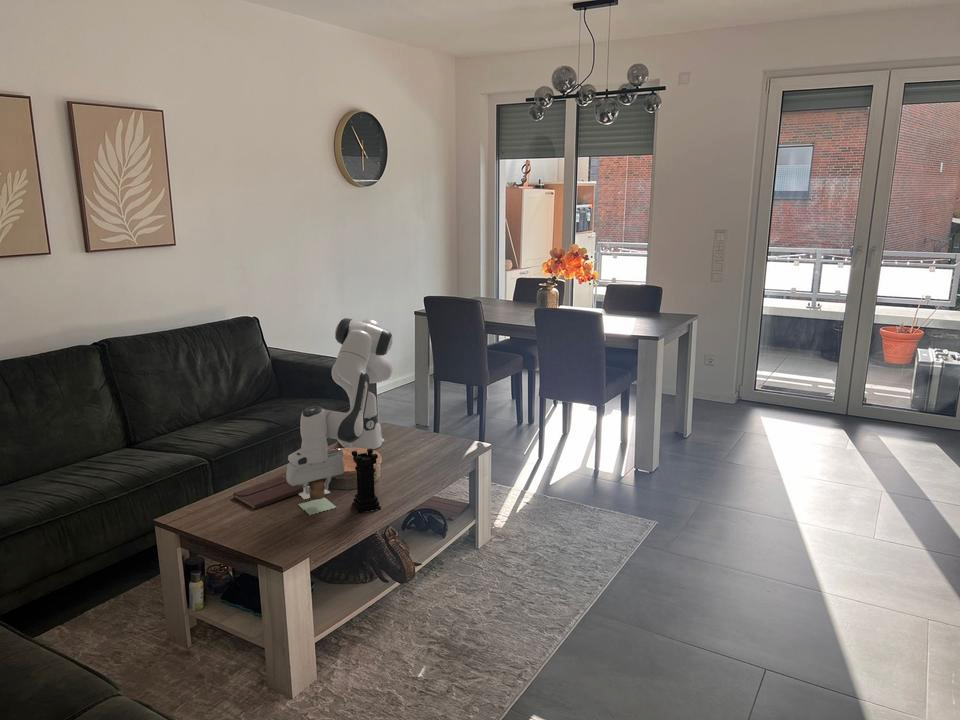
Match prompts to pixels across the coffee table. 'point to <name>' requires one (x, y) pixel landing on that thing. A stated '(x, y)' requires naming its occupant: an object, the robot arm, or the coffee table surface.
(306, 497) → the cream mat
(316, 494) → the brown cylinder
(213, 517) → the coffee table surface
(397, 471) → the coffee table surface
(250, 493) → the notebook
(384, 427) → the coffee table surface
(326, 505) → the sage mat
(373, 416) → the robot arm
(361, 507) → the chess piece
